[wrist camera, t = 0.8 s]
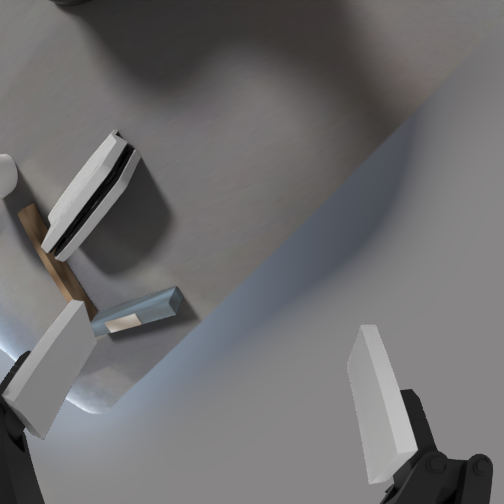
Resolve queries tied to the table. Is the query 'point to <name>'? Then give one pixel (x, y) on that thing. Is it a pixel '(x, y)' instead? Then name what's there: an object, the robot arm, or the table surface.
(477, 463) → the robot arm
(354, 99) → the table surface
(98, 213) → the white piece
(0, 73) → the table surface
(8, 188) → the foam cup
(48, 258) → the wooden handled mallet
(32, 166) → the table surface
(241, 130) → the table surface
